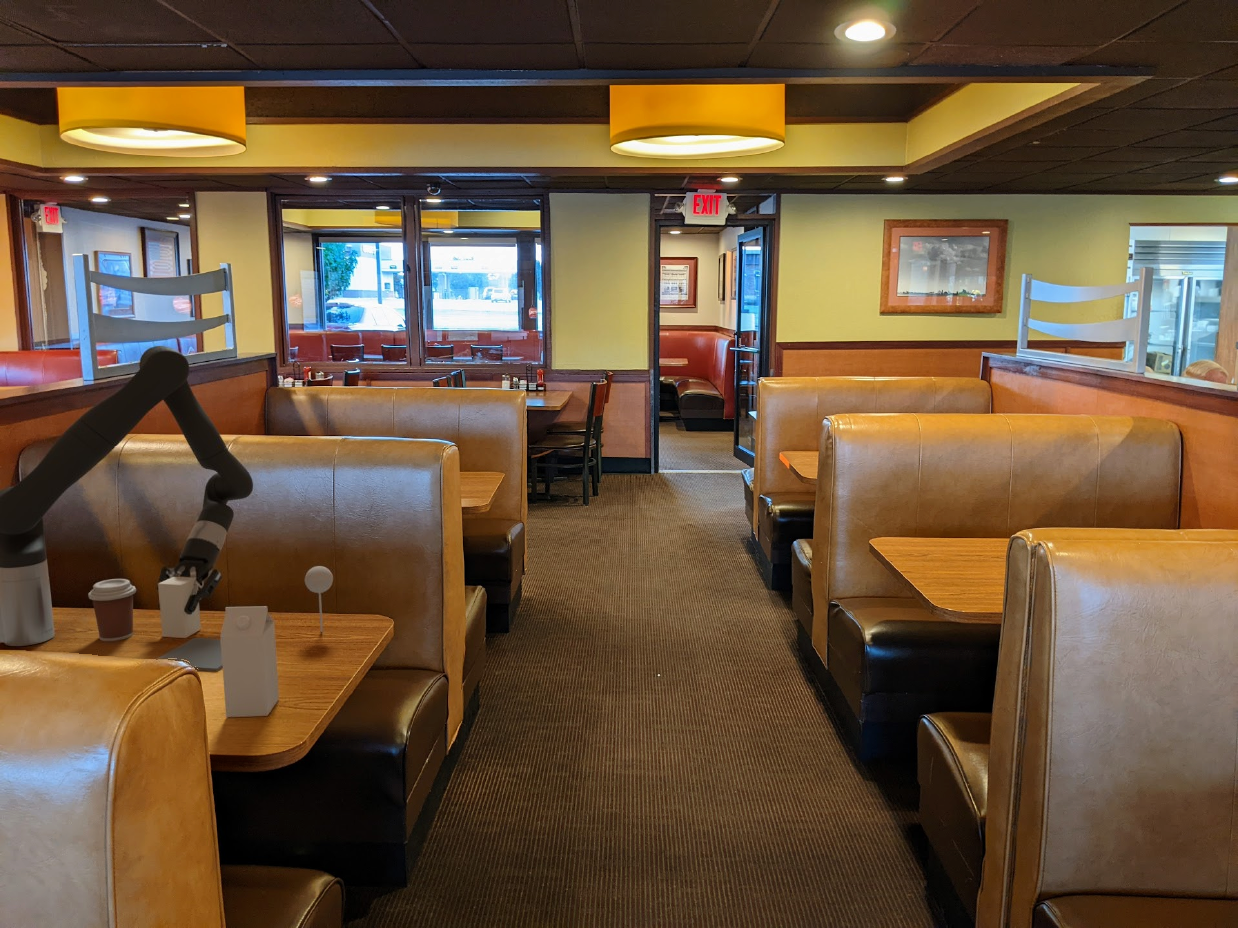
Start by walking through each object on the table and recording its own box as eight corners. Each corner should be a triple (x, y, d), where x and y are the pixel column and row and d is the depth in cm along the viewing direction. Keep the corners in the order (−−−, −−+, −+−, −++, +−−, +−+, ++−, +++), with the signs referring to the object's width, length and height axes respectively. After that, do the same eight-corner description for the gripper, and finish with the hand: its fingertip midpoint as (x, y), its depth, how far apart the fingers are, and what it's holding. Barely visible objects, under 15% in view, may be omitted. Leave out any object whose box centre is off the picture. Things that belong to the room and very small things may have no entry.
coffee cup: (147, 628, 203) (143, 577, 201) (127, 643, 194) (122, 589, 192) (106, 628, 203) (101, 577, 201) (83, 643, 194) (78, 589, 192)
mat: (148, 666, 181) (148, 663, 181) (194, 640, 196) (194, 637, 196) (217, 671, 179) (216, 668, 179) (258, 644, 194) (258, 641, 194)
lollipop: (326, 637, 198) (323, 571, 195) (302, 635, 199) (298, 569, 197) (340, 628, 204) (337, 563, 201) (317, 626, 205) (313, 561, 202)
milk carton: (239, 700, 166) (232, 601, 162) (279, 699, 166) (273, 600, 163) (226, 718, 159) (218, 614, 155) (267, 716, 159) (261, 612, 156)
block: (162, 636, 198) (158, 583, 196) (178, 627, 204) (174, 576, 202) (185, 637, 197) (181, 584, 195) (200, 629, 203) (196, 577, 201)
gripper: (167, 535, 205) (135, 602, 196) (225, 538, 203) (196, 606, 194) (183, 551, 212) (154, 617, 202) (240, 554, 209) (213, 621, 200)
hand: (174, 611), depth 198 cm, fingers closed on block, 5 cm apart
